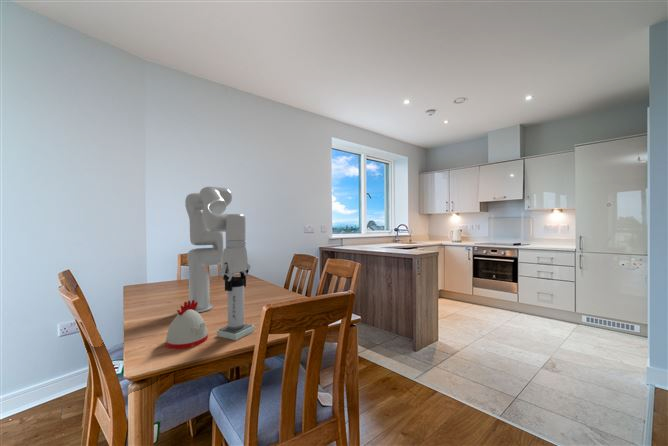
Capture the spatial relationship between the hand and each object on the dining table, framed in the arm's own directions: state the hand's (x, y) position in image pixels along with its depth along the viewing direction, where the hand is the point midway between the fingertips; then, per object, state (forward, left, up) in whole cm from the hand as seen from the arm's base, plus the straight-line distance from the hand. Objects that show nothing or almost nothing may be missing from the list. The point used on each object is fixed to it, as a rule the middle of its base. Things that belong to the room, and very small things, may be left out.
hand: (235, 288), depth 112 cm
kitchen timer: (-12, -13, -18) cm, 25 cm away
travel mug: (0, 0, -16) cm, 16 cm away
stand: (0, 0, -18) cm, 18 cm away
